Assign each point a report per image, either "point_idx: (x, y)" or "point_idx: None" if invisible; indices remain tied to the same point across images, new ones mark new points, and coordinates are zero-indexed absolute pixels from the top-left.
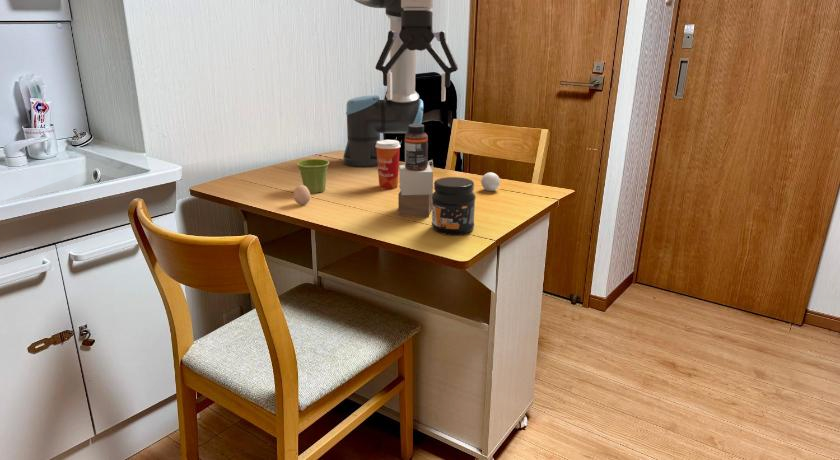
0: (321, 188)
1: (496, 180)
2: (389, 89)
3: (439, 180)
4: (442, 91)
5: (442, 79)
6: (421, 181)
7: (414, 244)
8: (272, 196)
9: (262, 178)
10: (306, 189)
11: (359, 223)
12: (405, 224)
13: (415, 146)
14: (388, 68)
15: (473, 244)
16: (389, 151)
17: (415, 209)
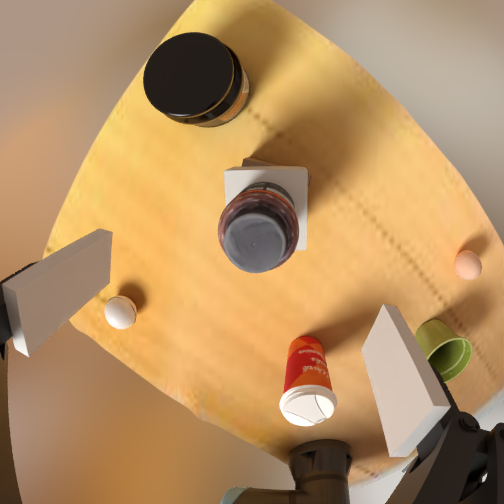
0: (425, 326)
1: (108, 302)
2: (403, 336)
3: (218, 82)
4: (79, 247)
5: (35, 274)
6: (257, 168)
7: (288, 26)
8: (486, 306)
9: (473, 387)
10: (467, 264)
11: (381, 138)
12: (298, 120)
13: (266, 188)
14: (452, 435)
15: (192, 26)
16: (308, 382)
17: (274, 164)
